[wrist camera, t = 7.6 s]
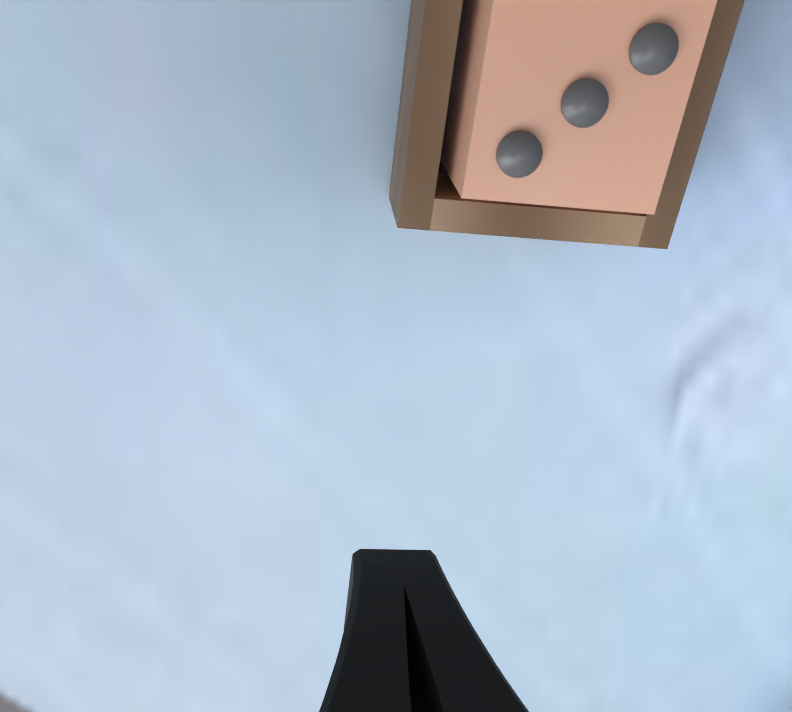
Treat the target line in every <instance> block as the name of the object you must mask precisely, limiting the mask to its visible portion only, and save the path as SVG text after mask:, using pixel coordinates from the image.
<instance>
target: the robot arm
mask: <svg viewBox="0 0 792 712" xmlns="http://www.w3.org/2000/svg"><path fill="white" fill-rule="evenodd" d="M319 712H529V711H528V710H527V708H526V707H525V706H524V704H523V703H522V702H521V700H520V699H519V697H518V696H517V694H516V693H515V691H514V690H513V689H512V687H511V686H510V684H509V683H508V681H507V680H506V679H505V677H504V676H503V674H502V673H501V671H500V669H499V668H498V666H497V665H496V663H495V662H494V660H493V659H492V657H491V656H490V654H489V652H488V651H487V649H486V647H485V646H484V644H483V643H482V641H481V639H480V638H479V636H478V635H477V633H476V631H475V630H474V628H473V626H472V625H471V623H470V621H469V619H468V618H467V616H466V614H465V612H464V611H463V609H462V607H461V605H460V603H459V601H458V600H457V598H456V596H455V594H454V592H453V590H452V588H451V587H450V585H449V583H448V581H447V579H446V577H445V575H444V573H443V571H442V568H441V566H440V564H439V562H438V560H437V558H436V556H435V554H434V553H433V552H432V551H431V550H388V549H359V550H358V551H356V552H355V553H353V556H352V564H351V573H350V581H349V590H348V598H347V607H346V615H345V624H344V633H343V637H342V641H341V645H340V649H339V653H338V656H337V660H336V663H335V666H334V669H333V672H332V675H331V678H330V681H329V685H328V688H327V691H326V694H325V697H324V700H323V703H322V706H321V708H320V711H319Z"/></svg>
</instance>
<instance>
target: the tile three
mask: <svg viewBox="0 0 792 712" xmlns="http://www.w3.org/2000/svg"><path fill="white" fill-rule="evenodd" d="M716 3H717V0H464V2H463V9H462V16H461V22H460V29H459V36H458V43H457V50H456V57H455V64H454V71H453V78H452V85H451V92H450V99H449V106H448V113H447V119H446V126H445V133H444V140H443V147H442V154H441V163H442V164H443V166H444V168H445V170H446V172H447V173H448V175H449V177H450V179H451V180H452V182H453V184H454V186H455V188H456V189H457V191H458V193H459V195H460V196H461V198H465V199H477V200H488V201H500V202H512V203H523V204H535V205H547V206H558V207H570V208H582V209H593V210H605V211H617V212H629V213H640V214H652V215H654V214H655V210H656V207H657V203H658V200H659V197H660V193H661V190H662V186H663V183H664V180H665V176H666V173H667V170H668V166H669V163H670V159H671V156H672V153H673V149H674V146H675V142H676V139H677V136H678V132H679V129H680V125H681V122H682V119H683V115H684V112H685V108H686V105H687V102H688V98H689V95H690V92H691V88H692V85H693V81H694V78H695V75H696V71H697V68H698V64H699V61H700V58H701V54H702V51H703V47H704V44H705V41H706V37H707V34H708V30H709V27H710V24H711V20H712V17H713V14H714V10H715V7H716Z"/></svg>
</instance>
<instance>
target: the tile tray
mask: <svg viewBox="0 0 792 712" xmlns="http://www.w3.org/2000/svg"><path fill="white" fill-rule="evenodd" d="M462 4H463V0H411V8H410V17H409V26H408V35H407V44H406V52H405V61H404V70H403V79H402V88H401V96H400V105H399V114H398V123H397V132H396V141H395V149H394V158H393V167H392V176H391V185H390V194H389V199H390V203H391V206H392V210H393V213H394V217H395V220H396V224H397V227H398V228H407V229H419V230H432V231H445V232H457V233H470V234H483V235H495V236H508V237H521V238H533V239H546V240H559V241H572V242H584V243H597V244H610V245H622V246H635V247H648V248H660V249H667V248H668V245H669V242H670V238H671V235H672V232H673V229H674V225H675V222H676V219H677V216H678V213H679V209H680V206H681V203H682V200H683V197H684V193H685V190H686V187H687V184H688V180H689V177H690V174H691V171H692V168H693V164H694V161H695V158H696V155H697V151H698V148H699V145H700V142H701V139H702V135H703V132H704V129H705V126H706V123H707V119H708V116H709V113H710V110H711V106H712V103H713V100H714V97H715V94H716V90H717V87H718V84H719V81H720V78H721V74H722V71H723V68H724V65H725V61H726V58H727V55H728V52H729V49H730V45H731V42H732V39H733V36H734V32H735V29H736V26H737V23H738V20H739V16H740V13H741V10H742V7H743V4H744V0H717V3H716V7H715V10H714V14H713V17H712V20H711V24H710V27H709V30H708V34H707V37H706V41H705V44H704V47H703V51H702V54H701V58H700V61H699V64H698V68H697V71H696V75H695V78H694V81H693V85H692V88H691V92H690V95H689V98H688V102H687V105H686V108H685V112H684V115H683V119H682V122H681V125H680V129H679V132H678V136H677V139H676V142H675V146H674V149H673V153H672V156H671V159H670V163H669V166H668V170H667V173H666V176H665V180H664V183H663V186H662V190H661V193H660V197H659V200H658V203H657V207H656V210H655V214H654V215H652V214H640V213H629V212H617V211H605V210H593V209H582V208H570V207H558V206H547V205H535V204H523V203H512V202H500V201H488V200H477V199H465V198H461V196H460V195H459V193H458V191H457V189H456V188H455V186H454V184H453V182H452V180H451V179H450V177H449V175H448V174H447V173H438V170H439V163H440V157H441V150H442V143H443V136H444V129H445V122H446V115H447V108H448V101H449V94H450V87H451V80H452V73H453V66H454V59H455V52H456V45H457V38H458V31H459V24H460V18H461V11H462Z"/></svg>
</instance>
